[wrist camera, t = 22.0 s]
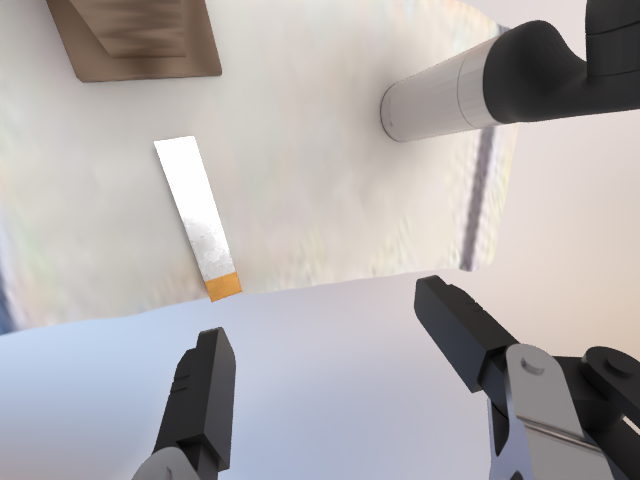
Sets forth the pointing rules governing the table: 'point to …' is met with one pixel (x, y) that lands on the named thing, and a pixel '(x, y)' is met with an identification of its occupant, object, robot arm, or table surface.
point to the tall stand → (136, 38)
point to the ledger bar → (199, 215)
